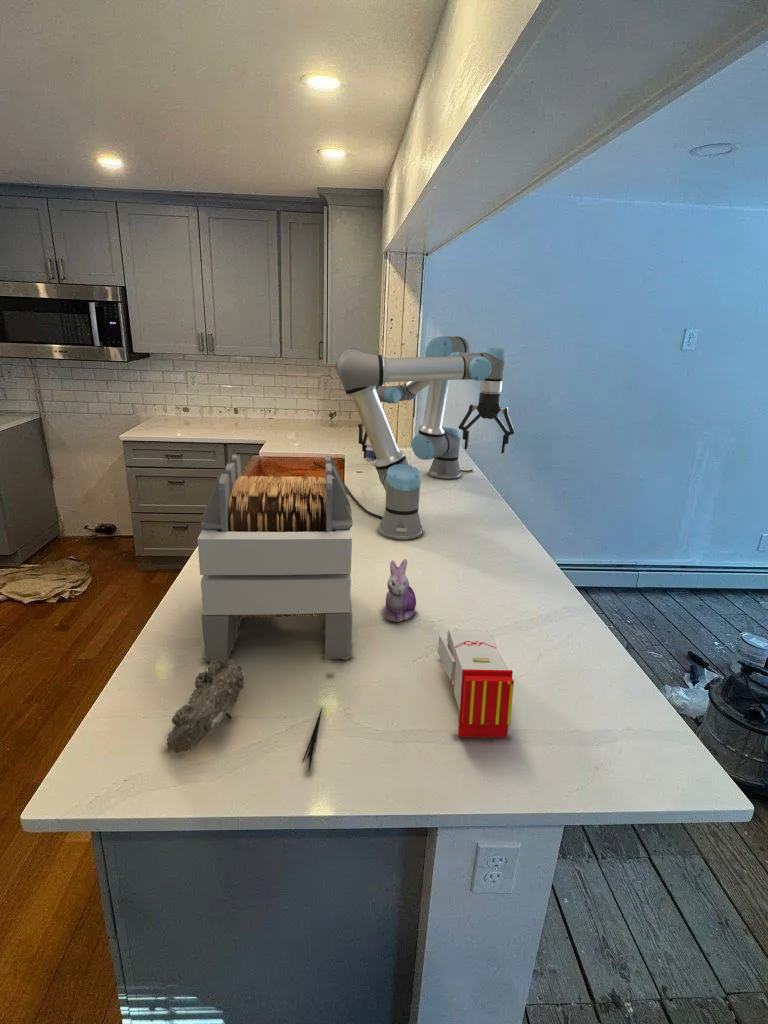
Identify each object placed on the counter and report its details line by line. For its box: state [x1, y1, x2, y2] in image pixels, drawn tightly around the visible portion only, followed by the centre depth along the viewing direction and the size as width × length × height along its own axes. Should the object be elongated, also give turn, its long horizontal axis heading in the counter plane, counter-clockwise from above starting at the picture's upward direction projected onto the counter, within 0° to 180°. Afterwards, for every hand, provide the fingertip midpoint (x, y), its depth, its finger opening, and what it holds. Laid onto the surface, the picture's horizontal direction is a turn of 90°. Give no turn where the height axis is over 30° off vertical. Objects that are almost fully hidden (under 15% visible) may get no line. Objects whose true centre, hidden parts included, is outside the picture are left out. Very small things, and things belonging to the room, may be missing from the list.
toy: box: [437, 628, 515, 738], centre depth 117 cm, size 12×13×30 cm
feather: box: [301, 673, 332, 771], centre depth 108 cm, size 2×28×2 cm
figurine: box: [384, 558, 417, 623], centre depth 145 cm, size 9×10×15 cm
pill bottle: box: [365, 442, 376, 463], centre depth 285 cm, size 5×5×9 cm
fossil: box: [166, 658, 245, 754], centre depth 106 cm, size 22×10×15 cm
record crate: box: [197, 454, 354, 663], centre depth 134 cm, size 34×33×41 cm
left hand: (484, 450), depth 210 cm, fingers open, 13 cm apart
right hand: (370, 458), depth 286 cm, fingers closed on pill bottle, 5 cm apart
